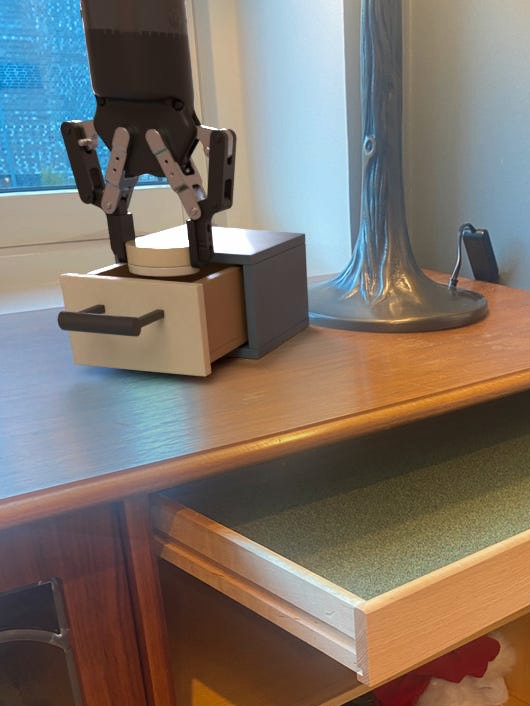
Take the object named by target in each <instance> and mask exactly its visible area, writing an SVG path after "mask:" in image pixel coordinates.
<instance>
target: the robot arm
mask: <svg viewBox="0 0 530 706" xmlns="http://www.w3.org/2000/svg"><path fill="white" fill-rule="evenodd" d="M79 5H80V7H79V13H80V18H81V22H82V26H83V27H82V28H83V33H84V34H83V35H84V41H85V49H86V55H87V63H88V69H89V75H90V76H89V78H90V84H91V89H92V92H93V96H94V99H95V103H96V107H95V112H94V114H93V119H90V120H68V121H63V122H61V124H60V127H59V129H60V133H61V137H62V141H63V144H64V147H65V151H66V154H67V158H68V161H69V165H70V169H71V172H72V175H73V179H74V182H75V186H76V190H77V193H78V196H79V199H80V201H81V202H82V203H83V204H85V205H93V206H95V207H97V208H99V209H101V210H102V211H103V213H104V215H105V217H106V224H107V230H108V237H109V238H108V239H109V244H110V250H111V252H112V253H113V255H117V257H118V261H119V262H120V263H128V261H127V254H126V247H125V243H126V242H128V241H130V240H135V239H136V238H137V237H136V230H135V223H134V216H133V215H134V214H133V212H129V210H128V209H129V208H130V204H131V200H132V197H133V193H134V189H135V187H136V186H137V185H138V184H139V180H140V177H142V176H148V175H150V176H153V177H155V178H163V179H166V180H167V182H168V184H169V186H170V188H171V189H172V191H173V192H174V193H175V194H177V196H178V198H179V200H180V202H181V204H182V206H183V208H184V210H185V212H186V215H187V216H188V218H189V219H186V220H185V224H186V225H187V235H188V245H189V254H190V263H191V266H192V268H204V267H206V266H208V264H209V260H211V259H213V255H214V246H213V245H214V244H213V233H212V223H211V222H213V217H214V215H215V214H218V213H221V212H223V211H227V210H230V209H232V207H233V204H234V190H235V189H234V188H235V172H236V171H235V170H236V155H237V141H238V139H237V138H238V137H237V133H236V131H234V129H231V128H222V129H218V128H214V127H211V126H206V125H202V123H201V121H200V118H199V117H198V115H197V112H196V110H195V89H194V79H193V69H192V58H191V48H190V46H191V45H190V36H189V27H188V26H189V25H188V16H187V6H186V0H79ZM99 138H100V139H101V141H102V143H103V144H104V145H105V147H106V148H107V149H108V151H109V152H110V155H109V159H108V162H107V167H106V170H105V175H104V174H103V171H102V167H101V164H100V160H99V155H98V152H97V148H98V147H99ZM199 142H200V143H201V145H202V148H203V149H202V150H203V153H204V155H205V156H206V157H207V158H208V169H207V171H208V172H207V175H208V176H207V191H205V189H204V186H203V178H202V177H201V174H200V171H199V170H198V168H197V165H196V164H195V161H194V160H193V158H192V156H193V154H194V152H195V150H196V149H197V146H198V144H199Z"/></svg>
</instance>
